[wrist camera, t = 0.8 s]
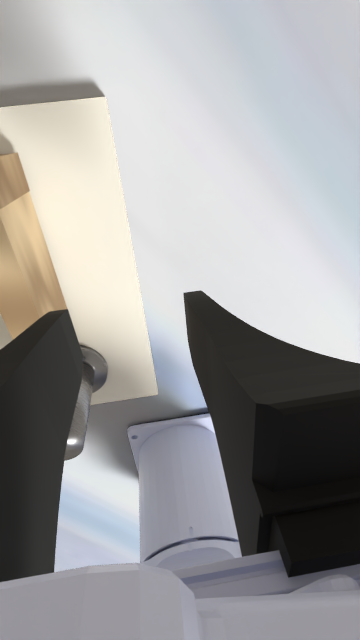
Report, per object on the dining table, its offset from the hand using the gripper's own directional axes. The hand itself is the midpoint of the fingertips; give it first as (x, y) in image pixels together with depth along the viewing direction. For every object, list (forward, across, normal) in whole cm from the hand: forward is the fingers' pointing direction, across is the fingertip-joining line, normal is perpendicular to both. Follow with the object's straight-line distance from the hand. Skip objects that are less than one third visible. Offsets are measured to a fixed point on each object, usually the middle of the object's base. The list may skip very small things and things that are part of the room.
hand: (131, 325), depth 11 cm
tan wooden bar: (+7, +5, 0) cm, 9 cm away
